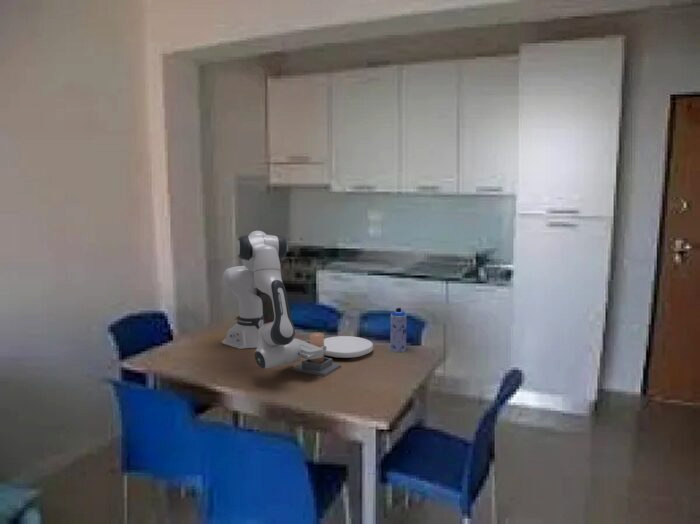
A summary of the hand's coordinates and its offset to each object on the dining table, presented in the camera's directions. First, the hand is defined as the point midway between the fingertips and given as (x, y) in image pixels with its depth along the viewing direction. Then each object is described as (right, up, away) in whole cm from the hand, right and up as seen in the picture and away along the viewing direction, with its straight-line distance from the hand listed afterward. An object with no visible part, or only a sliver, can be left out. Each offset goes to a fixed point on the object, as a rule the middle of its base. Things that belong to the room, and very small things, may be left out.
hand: (318, 344), depth 254 cm
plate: (+11, -7, +23) cm, 27 cm away
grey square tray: (-1, -10, +1) cm, 10 cm away
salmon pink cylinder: (-1, -9, +1) cm, 9 cm away
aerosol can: (+36, -6, +27) cm, 46 cm away
